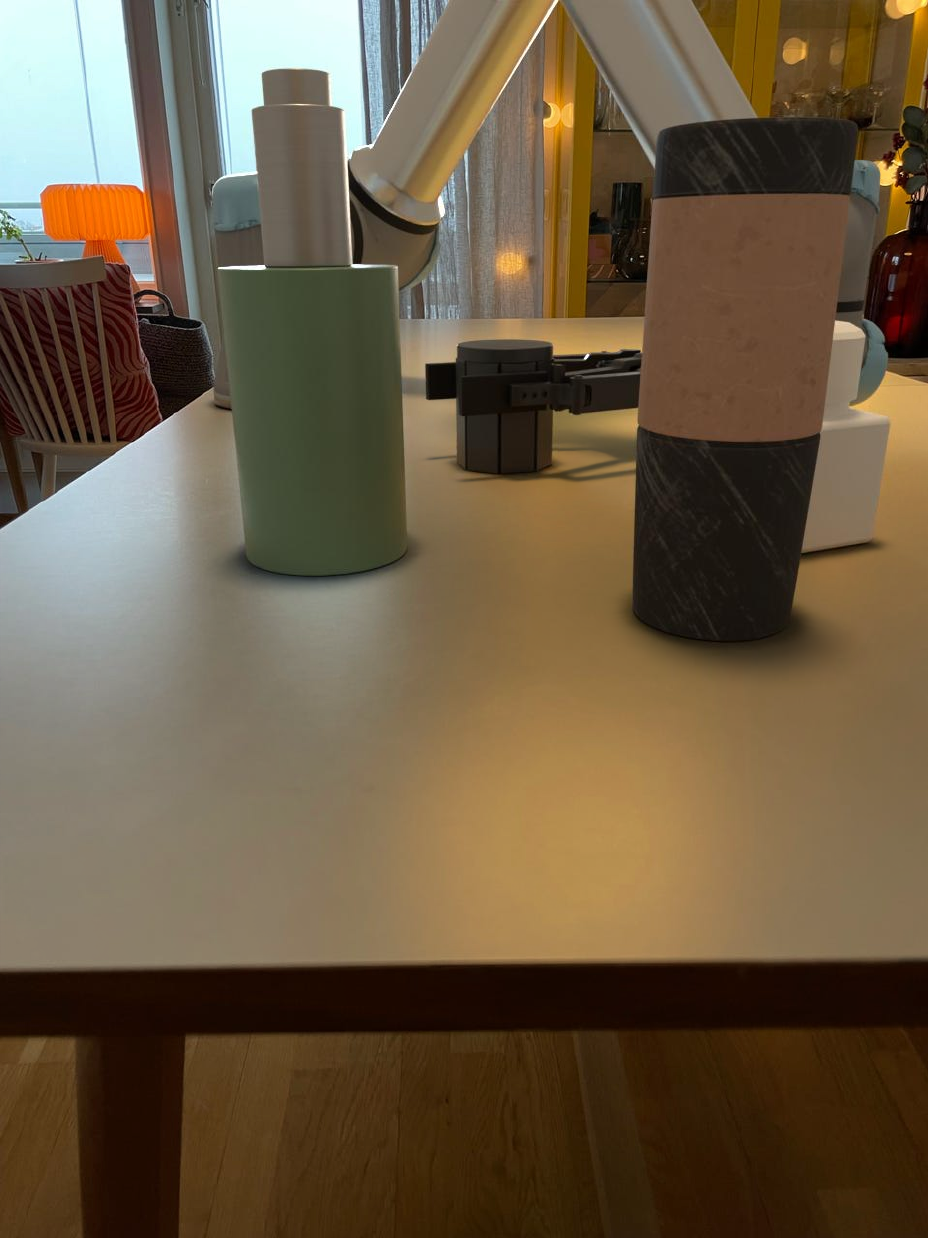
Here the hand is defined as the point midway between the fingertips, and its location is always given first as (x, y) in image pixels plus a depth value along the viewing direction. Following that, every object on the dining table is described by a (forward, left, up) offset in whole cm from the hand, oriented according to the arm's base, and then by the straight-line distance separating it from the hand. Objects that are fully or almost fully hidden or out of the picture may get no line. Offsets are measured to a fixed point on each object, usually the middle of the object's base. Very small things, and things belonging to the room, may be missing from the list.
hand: (443, 388), depth 69 cm
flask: (+18, -11, -6) cm, 22 cm away
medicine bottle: (+23, +15, -6) cm, 28 cm away
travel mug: (+33, +5, -6) cm, 34 cm away
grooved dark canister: (0, +5, -6) cm, 8 cm away
